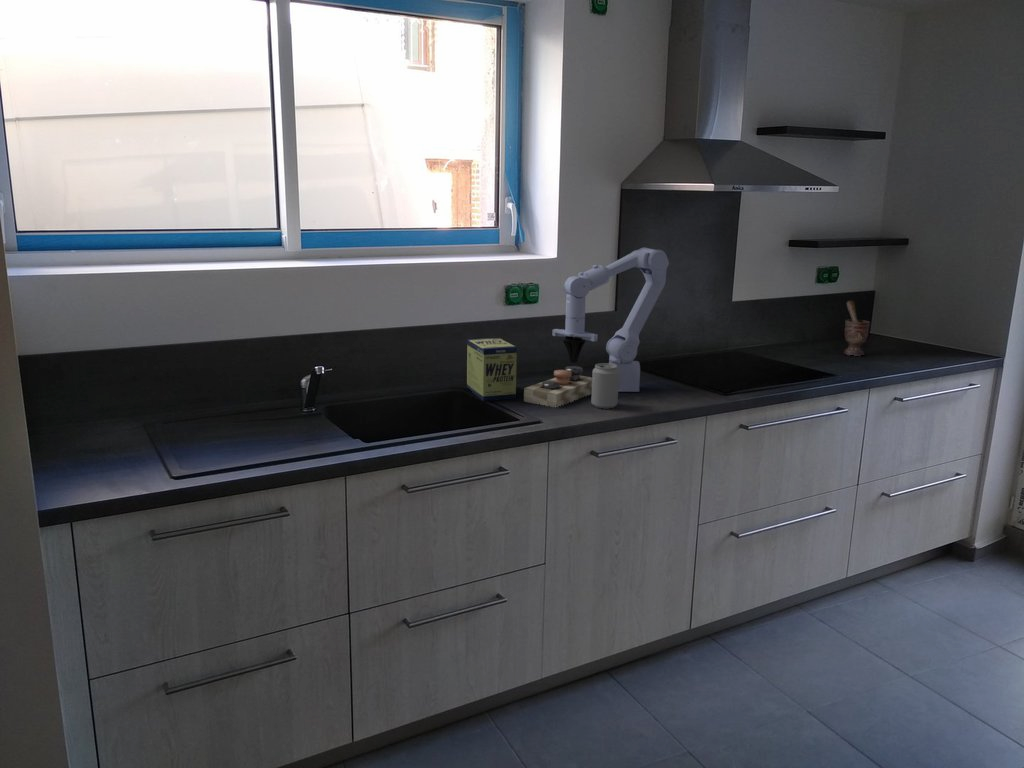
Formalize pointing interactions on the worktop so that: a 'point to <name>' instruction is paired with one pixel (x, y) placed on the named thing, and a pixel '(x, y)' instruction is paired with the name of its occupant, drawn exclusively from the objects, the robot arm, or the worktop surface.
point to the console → (558, 392)
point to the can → (605, 386)
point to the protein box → (491, 368)
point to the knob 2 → (574, 373)
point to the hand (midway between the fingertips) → (573, 362)
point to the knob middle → (562, 376)
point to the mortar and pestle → (855, 332)
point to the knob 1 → (550, 385)
